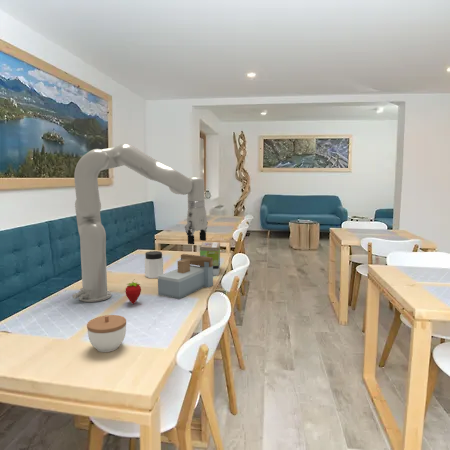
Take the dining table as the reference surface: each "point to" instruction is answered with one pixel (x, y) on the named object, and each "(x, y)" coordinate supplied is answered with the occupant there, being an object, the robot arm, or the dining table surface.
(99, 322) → the lidded jar
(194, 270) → the lid
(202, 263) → the brown block
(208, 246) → the tea box
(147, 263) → the jar
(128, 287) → the strawberry
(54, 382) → the dining table surface
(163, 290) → the toolbox
